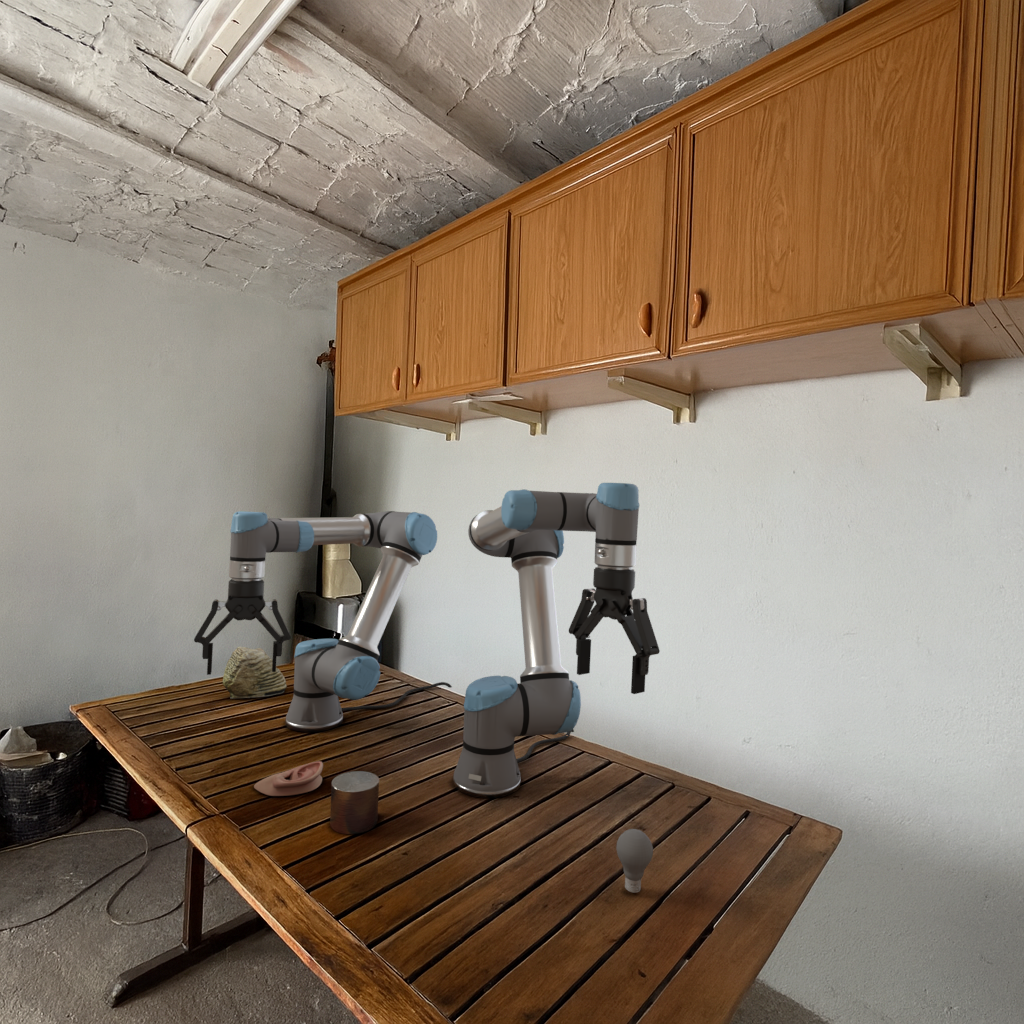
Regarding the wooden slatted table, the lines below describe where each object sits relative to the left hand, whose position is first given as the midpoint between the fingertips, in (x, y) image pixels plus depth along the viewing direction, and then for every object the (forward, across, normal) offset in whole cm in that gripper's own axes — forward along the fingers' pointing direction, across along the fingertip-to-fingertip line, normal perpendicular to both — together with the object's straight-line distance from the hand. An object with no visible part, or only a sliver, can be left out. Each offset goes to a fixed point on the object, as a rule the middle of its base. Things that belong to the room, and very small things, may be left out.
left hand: (242, 671), depth 145 cm
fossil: (+22, +3, +56) cm, 60 cm away
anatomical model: (+22, +11, -12) cm, 27 cm away
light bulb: (+22, +63, -67) cm, 95 cm away
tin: (+22, +22, -31) cm, 44 cm away
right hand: (-10, +63, -56) cm, 85 cm away
